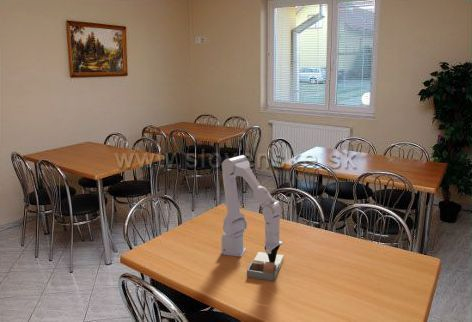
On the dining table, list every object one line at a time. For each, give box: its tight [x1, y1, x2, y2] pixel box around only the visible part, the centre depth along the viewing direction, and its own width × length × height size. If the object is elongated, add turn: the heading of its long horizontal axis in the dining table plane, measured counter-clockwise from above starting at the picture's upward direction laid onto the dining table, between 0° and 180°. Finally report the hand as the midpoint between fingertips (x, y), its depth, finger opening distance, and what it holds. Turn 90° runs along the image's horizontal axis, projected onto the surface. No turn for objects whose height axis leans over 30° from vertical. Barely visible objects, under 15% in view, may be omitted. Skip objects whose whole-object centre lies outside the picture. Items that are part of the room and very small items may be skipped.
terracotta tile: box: [264, 261, 275, 273], centre depth 158 cm, size 4×4×2 cm
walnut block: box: [252, 259, 264, 272], centre depth 160 cm, size 4×4×2 cm
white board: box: [253, 251, 285, 270], centre depth 167 cm, size 11×9×2 cm
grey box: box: [246, 259, 280, 282], centre depth 159 cm, size 11×9×3 cm
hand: (272, 261), depth 162 cm, fingers closed
